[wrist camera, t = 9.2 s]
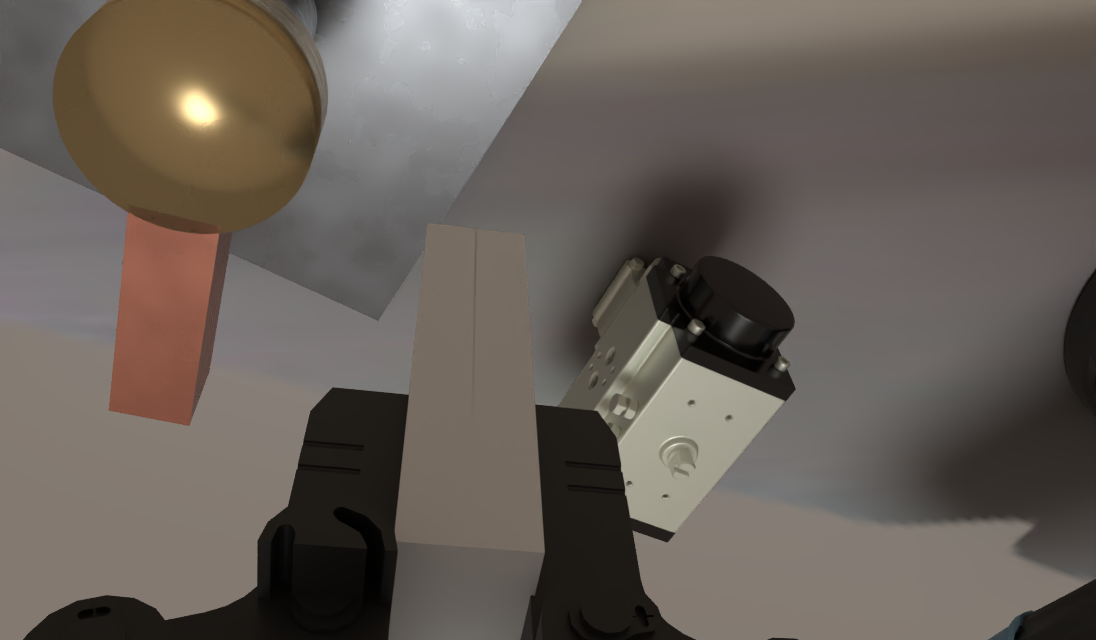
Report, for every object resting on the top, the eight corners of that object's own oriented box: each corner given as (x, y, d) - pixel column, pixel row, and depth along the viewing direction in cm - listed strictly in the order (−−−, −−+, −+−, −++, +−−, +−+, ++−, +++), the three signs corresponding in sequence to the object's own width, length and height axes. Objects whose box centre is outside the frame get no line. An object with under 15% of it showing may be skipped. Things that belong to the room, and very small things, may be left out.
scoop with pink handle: (96, -67, 27) (58, -39, 24) (348, 6, 28) (336, 40, 26) (69, 343, 34) (38, 396, 32) (270, 384, 36) (255, 438, 34)
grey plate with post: (628, -96, 36) (668, -31, 29) (381, 296, 45) (363, 422, 38) (85, -469, 29) (-47, -511, 22) (-78, 81, 38) (-212, 184, 31)
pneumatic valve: (750, 217, 44) (829, 380, 34) (618, 400, 50) (654, 586, 40) (646, 167, 42) (698, 324, 32) (521, 362, 48) (534, 547, 38)
